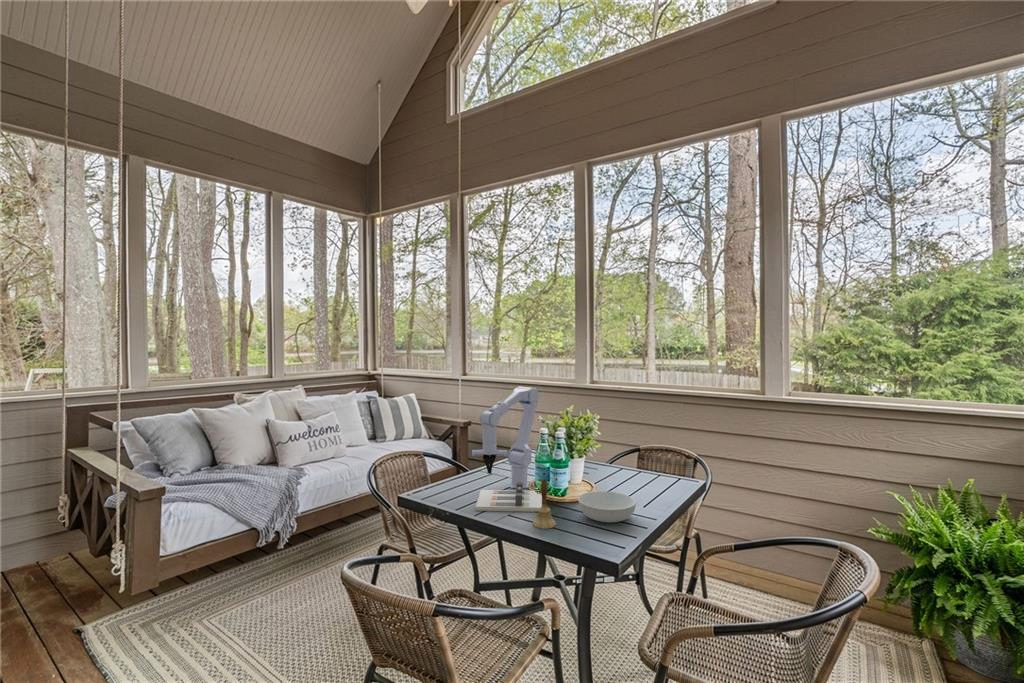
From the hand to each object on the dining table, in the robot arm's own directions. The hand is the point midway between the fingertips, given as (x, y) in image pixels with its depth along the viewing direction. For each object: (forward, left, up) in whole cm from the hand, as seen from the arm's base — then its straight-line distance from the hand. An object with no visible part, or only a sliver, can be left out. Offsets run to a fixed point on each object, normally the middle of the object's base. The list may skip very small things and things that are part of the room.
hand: (489, 472), depth 198 cm
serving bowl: (+21, +45, -10) cm, 51 cm away
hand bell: (+28, +22, -10) cm, 37 cm away
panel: (+6, +9, -10) cm, 15 cm away
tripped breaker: (+6, +12, -8) cm, 16 cm away
